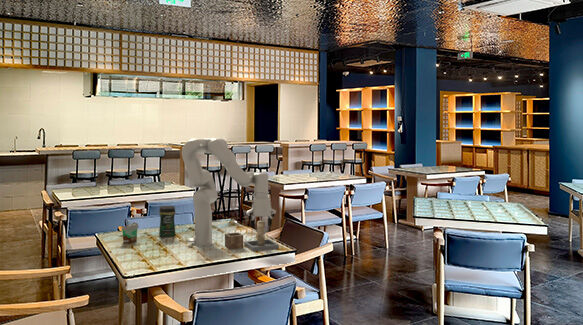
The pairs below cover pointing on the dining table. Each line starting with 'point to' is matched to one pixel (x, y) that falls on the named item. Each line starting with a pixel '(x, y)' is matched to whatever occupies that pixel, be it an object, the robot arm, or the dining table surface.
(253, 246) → the charcoal tray
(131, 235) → the food container
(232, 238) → the brown wooden cube
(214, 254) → the dining table surface
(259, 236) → the beech pin
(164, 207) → the coffee jar
